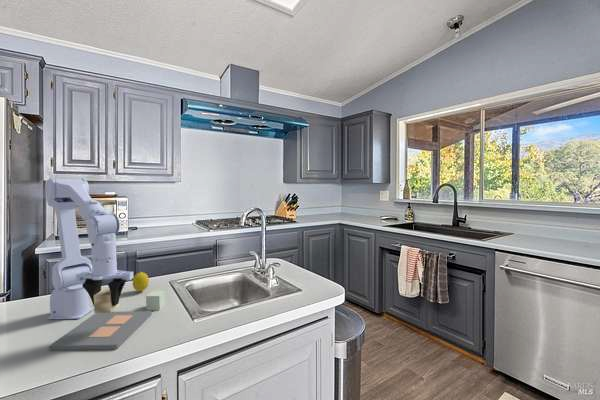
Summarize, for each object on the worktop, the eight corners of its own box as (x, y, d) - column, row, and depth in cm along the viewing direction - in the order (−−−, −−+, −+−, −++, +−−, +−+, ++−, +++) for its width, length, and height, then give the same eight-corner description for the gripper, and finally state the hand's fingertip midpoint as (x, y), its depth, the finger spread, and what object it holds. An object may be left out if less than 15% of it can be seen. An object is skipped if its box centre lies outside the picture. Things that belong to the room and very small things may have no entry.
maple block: (94, 313, 79) (93, 295, 79) (104, 306, 84) (103, 289, 83) (110, 312, 80) (110, 295, 79) (119, 305, 84) (119, 289, 84)
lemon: (144, 288, 116) (144, 268, 115) (151, 291, 113) (151, 271, 112) (130, 292, 111) (129, 272, 111) (137, 295, 108) (136, 275, 108)
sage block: (146, 310, 96) (146, 296, 96) (152, 304, 101) (152, 291, 100) (159, 310, 97) (159, 295, 96) (165, 304, 101) (164, 290, 101)
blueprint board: (49, 350, 74) (48, 345, 73) (97, 315, 92) (97, 311, 92) (117, 349, 74) (116, 344, 74) (151, 314, 93) (151, 310, 93)
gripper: (66, 261, 76) (69, 311, 77) (122, 261, 77) (124, 310, 78) (85, 254, 83) (87, 300, 84) (136, 254, 84) (138, 299, 85)
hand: (106, 304), depth 81 cm, fingers closed on maple block, 4 cm apart
